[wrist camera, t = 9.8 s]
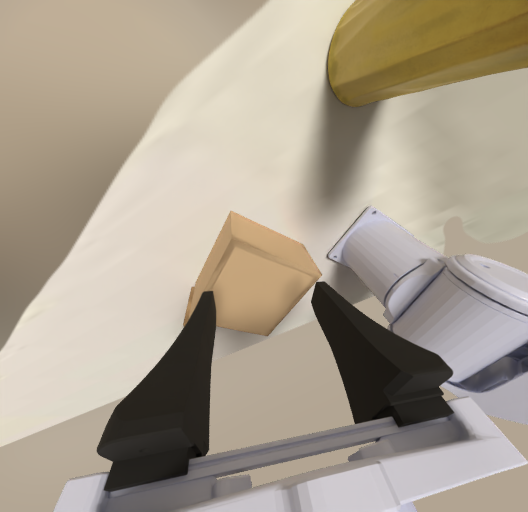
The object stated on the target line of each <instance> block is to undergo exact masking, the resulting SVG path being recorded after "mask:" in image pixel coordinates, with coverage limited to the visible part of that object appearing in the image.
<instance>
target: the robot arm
mask: <svg viewBox="0 0 528 512" xmlns="http://www.w3.org/2000/svg"><path fill="white" fill-rule="evenodd" d="M373 211H374V213H373ZM334 256H335V257H334ZM328 257H329V258H330V259H332V260H334V261H336V262H339V263H341V264H343V265H345V266H347V267H349V268H351V269H352V270H353V271H354V272H355V273H356V274H357V276H358V277H359V278H360V279H361V280H362V281H363V283H364V284H365V285H366V286H367V287H368V288H369V289H370V291H371V292H372V293H373V294H374V295H375V296H376V297H377V299H378V300H379V301H380V302H381V303H382V304H383V306H384V307H385V308H386V310H385V312H384V313H383V316H384V317H385V318H386V319H387V320H388V322H389V323H390V324H389V326H388V328H387V329H386V328H384V327H383V326H381V325H379V324H378V323H376V322H375V321H373V320H372V319H370V318H369V317H367V316H366V315H365V314H363V313H362V312H360V311H359V310H358V309H357V308H355V307H354V306H353V305H351V304H350V303H349V302H348V301H346V300H345V299H344V298H343V297H342V296H341V295H339V294H338V293H337V292H336V291H335V290H334V289H332V288H331V287H330V286H329V285H328V284H327V283H326V282H316V285H315V289H314V292H313V296H312V300H311V303H312V306H313V309H314V312H315V315H316V317H317V319H318V322H319V324H320V326H321V328H322V330H323V332H324V334H325V336H326V338H327V340H328V342H329V345H330V347H331V349H332V352H333V355H334V357H335V360H336V363H337V366H338V369H339V372H340V375H341V377H342V380H343V384H344V387H345V390H346V393H347V397H348V400H349V404H350V407H351V411H352V414H353V419H354V422H355V424H354V425H350V426H345V427H340V428H335V429H330V430H326V431H321V432H316V433H312V434H307V435H302V436H298V437H293V438H288V439H283V440H279V441H274V442H269V443H265V444H260V445H255V446H250V447H246V448H241V449H236V450H231V451H227V452H222V453H217V454H213V455H208V456H205V455H206V454H207V452H208V450H209V414H210V379H211V363H212V354H213V346H214V339H215V331H216V305H215V299H214V293H213V291H204V292H203V293H202V294H201V297H200V299H199V301H198V303H197V305H196V307H195V309H194V311H193V313H192V315H191V317H190V318H189V320H188V322H187V323H186V325H185V327H184V328H183V330H182V331H181V333H180V334H179V336H178V337H177V339H176V340H175V342H174V343H173V344H172V346H171V347H170V348H169V350H168V351H167V352H166V353H165V355H164V356H163V357H162V358H161V360H160V361H159V362H158V363H157V364H156V366H155V367H154V368H153V369H152V370H151V371H150V372H149V373H148V375H147V376H146V377H145V378H144V379H143V380H142V381H141V382H140V383H139V384H138V385H137V386H136V387H135V388H134V389H133V390H132V391H131V392H130V393H129V394H128V395H127V396H126V397H125V398H124V399H123V400H122V401H121V402H120V403H119V404H118V405H117V406H116V408H115V409H114V412H113V413H112V415H111V417H110V419H109V421H108V423H107V425H106V428H105V430H104V432H103V435H102V437H101V440H100V443H99V445H98V447H97V453H98V454H99V455H100V456H102V457H104V458H107V459H108V460H111V461H113V464H112V467H111V470H110V472H101V473H96V474H91V475H86V476H81V477H76V478H71V479H70V480H68V481H67V482H66V484H65V486H64V489H63V491H62V493H61V495H60V497H59V500H58V502H57V504H56V506H55V508H54V511H53V512H417V510H416V508H415V506H414V504H413V502H412V501H415V500H418V499H421V498H424V497H427V496H429V495H433V494H436V493H439V492H442V491H444V490H448V489H451V488H453V487H457V486H460V485H463V484H465V483H469V482H471V481H475V480H478V479H481V478H484V477H487V476H490V475H492V474H496V473H499V472H502V471H505V470H509V469H512V468H515V467H519V466H522V465H525V464H528V462H527V460H526V459H525V458H524V457H523V456H522V454H521V453H520V452H518V450H517V449H516V448H515V447H514V446H513V444H512V443H511V442H510V441H509V440H508V439H507V438H506V437H505V435H504V434H503V433H502V432H501V431H500V430H499V429H498V428H497V427H496V425H495V424H494V423H493V422H492V421H491V420H490V419H489V418H488V416H487V415H490V416H494V417H498V418H501V419H506V420H509V421H514V422H518V423H522V424H526V425H528V274H527V273H525V272H523V271H520V270H518V269H516V268H513V267H511V266H508V265H506V264H503V263H501V262H498V261H495V260H492V259H489V258H486V257H482V256H478V255H473V254H464V255H453V256H451V257H450V258H448V257H446V256H445V255H443V254H441V253H440V252H438V251H436V250H435V249H433V248H431V247H430V246H428V245H426V244H425V243H423V242H421V241H420V240H418V239H416V238H415V237H414V235H413V234H411V233H410V232H408V231H407V230H406V229H404V228H403V227H401V226H400V225H399V224H397V223H396V222H394V221H393V220H392V219H390V218H389V217H387V216H386V215H385V214H383V213H382V212H380V211H379V210H378V209H376V208H375V207H373V206H370V207H368V208H367V209H366V210H365V211H364V212H363V214H362V215H361V216H360V217H359V218H358V220H357V221H356V222H355V223H354V224H353V225H352V227H351V228H350V229H349V230H348V231H347V232H346V234H345V235H344V236H343V237H342V238H341V239H340V241H339V242H338V243H337V244H336V245H335V247H334V248H333V249H332V250H331V251H330V252H329V254H328ZM439 386H441V387H443V388H445V389H447V390H448V391H450V392H451V393H453V394H454V395H456V396H457V397H458V398H457V399H452V400H449V401H445V400H444V399H443V398H442V395H443V394H444V393H443V392H442V390H441V389H440V388H439ZM373 441H376V442H375V443H373V444H370V445H367V446H364V447H361V448H360V449H359V451H357V452H356V453H354V454H352V455H351V456H349V457H348V460H349V462H347V463H343V464H338V465H334V466H329V467H326V468H321V469H318V470H313V471H310V472H306V473H302V474H299V475H295V476H291V477H288V478H284V479H281V480H277V481H274V482H270V483H267V484H263V485H260V486H256V487H253V488H252V482H251V480H250V476H249V475H240V476H232V477H226V478H222V479H219V480H217V479H216V478H218V477H222V476H226V475H230V474H235V473H239V472H244V471H248V470H252V469H257V468H261V467H265V466H270V465H274V464H278V463H283V462H287V461H291V460H295V459H300V458H304V457H308V456H313V455H317V454H321V453H326V452H330V451H335V450H338V449H343V448H348V447H352V446H356V445H361V444H365V443H369V442H373Z"/></svg>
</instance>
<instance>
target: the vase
mask: <svg viewBox="0 0 528 512" xmlns="http://www.w3.org/2000/svg"><path fill="white" fill-rule="evenodd" d="M522 68H528V0H356V1H355V2H354V3H353V4H352V5H351V6H350V7H349V8H348V9H347V11H346V12H345V14H344V15H343V17H342V18H341V20H340V22H339V23H338V25H337V28H336V30H335V33H334V35H333V39H332V42H331V46H330V51H329V58H328V73H329V80H330V84H331V87H332V90H333V91H334V93H335V95H336V96H337V97H338V99H339V100H340V101H341V102H342V103H344V104H346V105H348V106H352V107H359V106H363V105H366V104H368V103H371V102H375V101H380V100H385V99H389V98H393V97H397V96H401V95H405V94H410V93H415V92H420V91H424V90H427V89H431V88H435V87H439V86H443V85H447V84H451V83H456V82H460V81H465V80H469V79H474V78H478V77H482V76H486V75H491V74H496V73H501V72H506V71H511V70H517V69H522Z"/></svg>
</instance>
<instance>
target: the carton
mask: <svg viewBox="0 0 528 512" xmlns="http://www.w3.org/2000/svg"><path fill="white" fill-rule="evenodd" d="M321 276H322V274H321V272H320V271H319V269H318V267H317V266H316V264H315V263H314V261H313V259H312V258H311V256H310V255H309V253H308V252H307V250H306V248H305V247H304V245H303V244H301V243H299V242H297V241H294V240H292V239H290V238H288V237H286V236H284V235H282V234H279V233H277V232H275V231H273V230H271V229H269V228H267V227H264V226H262V225H260V224H258V223H256V222H254V221H252V220H249V219H247V218H245V217H243V216H241V215H239V214H237V213H234V212H232V211H230V213H229V215H228V218H227V220H226V222H225V224H224V226H223V228H222V230H221V232H220V234H219V236H218V238H217V240H216V242H215V244H214V246H213V248H212V250H211V252H210V254H209V256H208V258H207V260H206V262H205V265H204V267H203V269H202V271H201V273H200V275H199V277H198V279H197V281H196V284H195V289H194V294H193V298H192V303H191V308H190V313H189V318H190V317H191V315H192V313H193V311H194V309H195V307H196V305H197V303H198V301H199V299H200V297H201V294H202V293H203V292H204V291H213V293H214V299H215V305H216V326H218V327H223V328H228V329H233V330H238V331H244V332H249V333H254V334H259V335H264V336H268V335H269V334H270V333H271V332H272V331H273V330H274V328H275V327H276V326H277V325H278V324H279V323H280V322H281V321H282V320H283V318H284V317H285V316H286V315H287V314H288V313H289V312H290V311H291V309H292V308H293V307H294V306H295V305H296V304H297V303H298V302H299V300H300V299H301V298H302V297H303V296H304V295H305V294H306V293H307V291H308V290H309V289H310V288H311V287H312V286H313V285H314V284H315V282H316V281H317V280H318V279H319V278H320V277H321ZM189 318H188V320H189Z"/></svg>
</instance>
